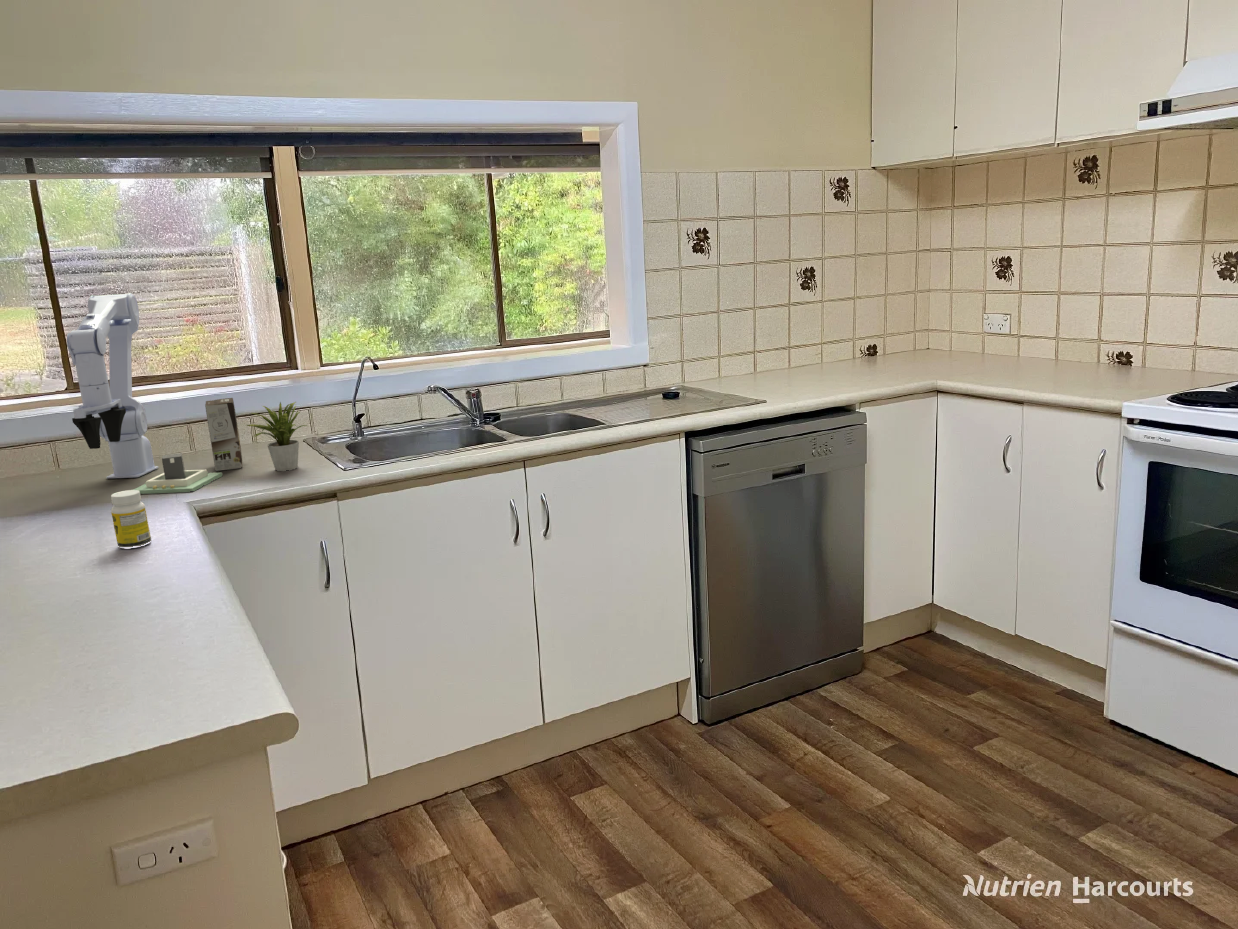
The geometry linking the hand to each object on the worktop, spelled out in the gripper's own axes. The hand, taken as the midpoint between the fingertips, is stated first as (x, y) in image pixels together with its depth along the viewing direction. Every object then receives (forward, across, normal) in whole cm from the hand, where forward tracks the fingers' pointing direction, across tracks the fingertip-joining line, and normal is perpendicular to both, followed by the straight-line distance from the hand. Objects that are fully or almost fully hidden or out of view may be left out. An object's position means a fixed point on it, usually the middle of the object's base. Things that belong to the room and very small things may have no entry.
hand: (105, 444), depth 210 cm
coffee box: (+10, -20, +18) cm, 28 cm away
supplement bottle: (+11, +42, +29) cm, 52 cm away
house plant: (+10, -16, +34) cm, 39 cm away
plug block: (+10, -2, +14) cm, 17 cm away
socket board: (+10, -2, +14) cm, 17 cm away
